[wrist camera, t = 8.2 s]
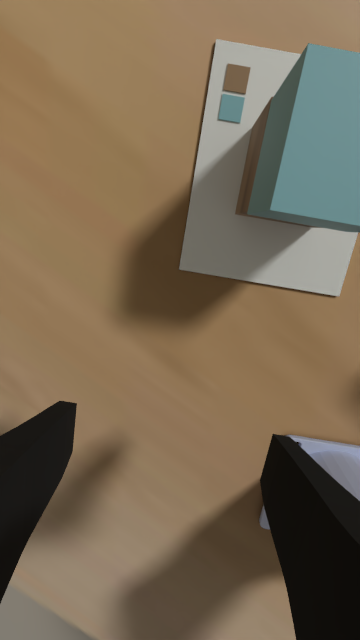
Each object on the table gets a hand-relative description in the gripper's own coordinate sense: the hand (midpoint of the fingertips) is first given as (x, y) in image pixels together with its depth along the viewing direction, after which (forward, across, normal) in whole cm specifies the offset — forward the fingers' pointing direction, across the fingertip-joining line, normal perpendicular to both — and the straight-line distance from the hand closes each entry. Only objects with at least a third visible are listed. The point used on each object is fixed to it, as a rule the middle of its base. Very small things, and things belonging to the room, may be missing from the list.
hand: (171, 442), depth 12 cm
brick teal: (+6, -4, -11) cm, 13 cm away
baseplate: (+10, -4, -11) cm, 16 cm away
